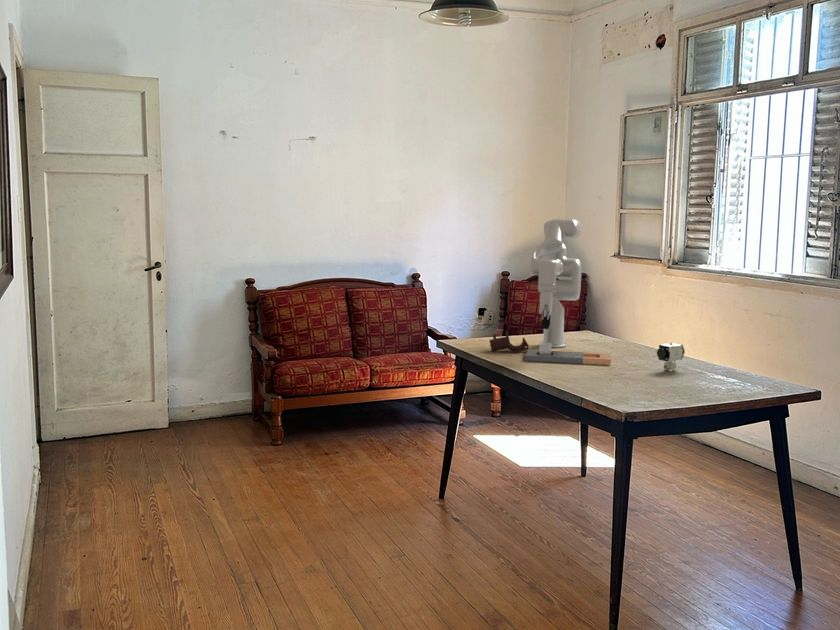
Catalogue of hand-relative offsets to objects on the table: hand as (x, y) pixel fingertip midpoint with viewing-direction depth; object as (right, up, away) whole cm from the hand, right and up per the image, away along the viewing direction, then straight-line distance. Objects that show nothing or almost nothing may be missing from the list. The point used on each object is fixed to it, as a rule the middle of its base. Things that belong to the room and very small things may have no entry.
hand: (545, 327), depth 352 cm
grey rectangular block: (0, -14, +3) cm, 14 cm away
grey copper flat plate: (+10, -14, +1) cm, 17 cm away
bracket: (-14, -12, +20) cm, 27 cm away
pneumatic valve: (+48, -18, -20) cm, 55 cm away
